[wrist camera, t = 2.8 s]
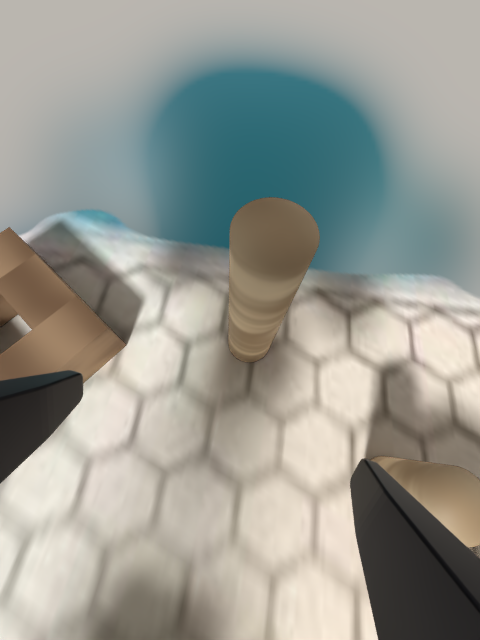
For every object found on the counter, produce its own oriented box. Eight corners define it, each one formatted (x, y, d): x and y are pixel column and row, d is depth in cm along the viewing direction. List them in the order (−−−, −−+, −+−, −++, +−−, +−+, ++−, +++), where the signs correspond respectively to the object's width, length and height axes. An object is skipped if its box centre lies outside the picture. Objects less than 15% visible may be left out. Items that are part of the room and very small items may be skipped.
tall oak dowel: (250, 371, 23) (280, 289, 10) (219, 342, 24) (211, 232, 11) (277, 341, 24) (337, 232, 11) (247, 315, 25) (269, 183, 12)
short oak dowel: (393, 522, 20) (475, 565, 13) (352, 484, 20) (410, 507, 14) (419, 481, 21) (506, 501, 14) (378, 445, 21) (444, 450, 15)
